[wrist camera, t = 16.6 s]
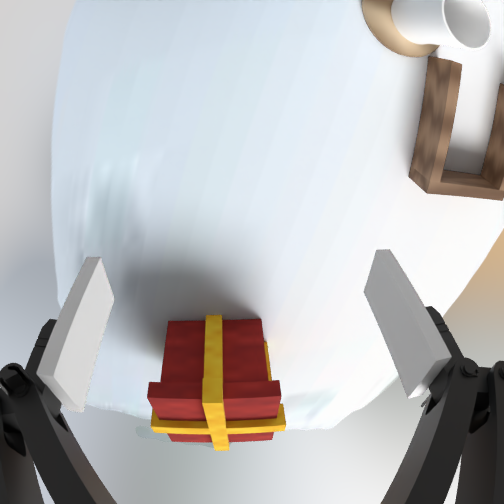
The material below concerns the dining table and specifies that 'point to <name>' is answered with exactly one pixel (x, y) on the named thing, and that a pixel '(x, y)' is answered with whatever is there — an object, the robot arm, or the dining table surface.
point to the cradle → (439, 133)
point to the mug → (443, 22)
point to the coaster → (391, 30)
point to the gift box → (216, 384)
